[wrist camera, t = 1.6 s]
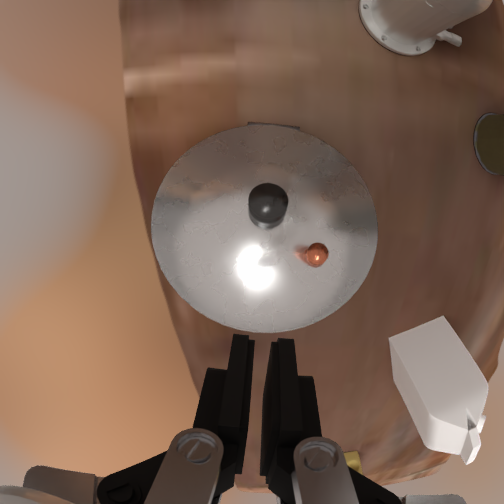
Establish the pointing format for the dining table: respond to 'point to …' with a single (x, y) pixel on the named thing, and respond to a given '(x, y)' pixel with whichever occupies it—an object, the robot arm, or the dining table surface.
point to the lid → (264, 228)
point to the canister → (490, 142)
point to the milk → (440, 387)
